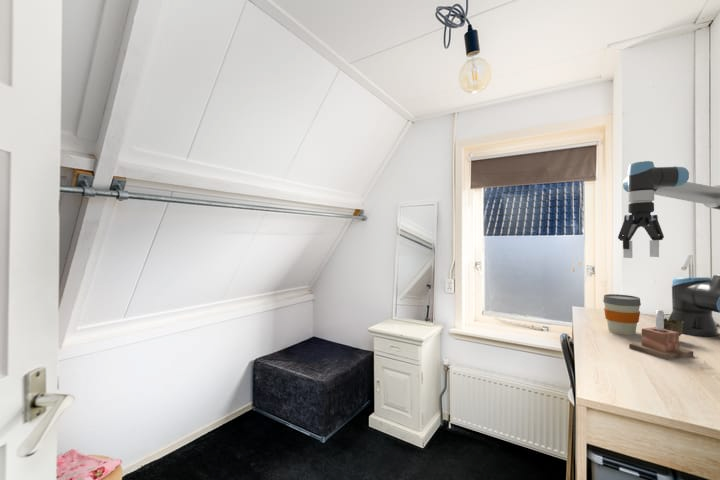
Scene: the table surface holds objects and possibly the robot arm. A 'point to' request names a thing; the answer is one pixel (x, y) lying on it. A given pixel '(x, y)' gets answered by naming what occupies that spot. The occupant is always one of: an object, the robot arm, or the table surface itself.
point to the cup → (673, 325)
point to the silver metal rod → (659, 320)
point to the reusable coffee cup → (622, 313)
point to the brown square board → (665, 355)
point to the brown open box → (660, 339)
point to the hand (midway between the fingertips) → (641, 257)
